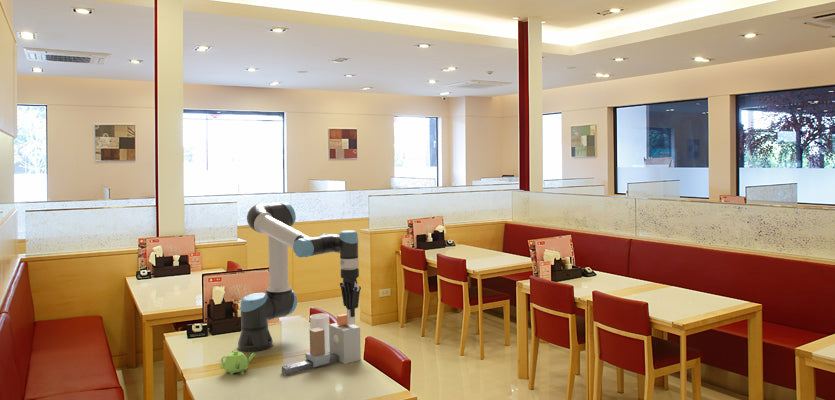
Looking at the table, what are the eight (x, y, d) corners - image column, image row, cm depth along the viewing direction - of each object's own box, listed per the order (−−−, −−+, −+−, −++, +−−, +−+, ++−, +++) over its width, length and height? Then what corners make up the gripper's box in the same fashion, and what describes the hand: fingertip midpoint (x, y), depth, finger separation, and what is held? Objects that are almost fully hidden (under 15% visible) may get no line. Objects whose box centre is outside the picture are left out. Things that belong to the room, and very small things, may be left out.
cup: (326, 355, 250) (325, 319, 248) (308, 354, 251) (307, 318, 250) (332, 349, 258) (331, 313, 256) (315, 348, 259) (314, 313, 258)
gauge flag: (337, 324, 245) (337, 315, 245) (346, 322, 248) (345, 313, 247) (340, 325, 243) (339, 316, 243) (349, 323, 246) (348, 314, 246)
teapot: (215, 374, 229) (214, 353, 228) (234, 364, 240) (234, 345, 239) (238, 378, 225) (237, 357, 224) (257, 368, 235) (256, 348, 235)
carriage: (305, 361, 239) (304, 329, 238) (320, 358, 243) (319, 325, 242) (314, 367, 232) (313, 333, 231) (330, 363, 237) (329, 330, 236)
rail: (282, 372, 230) (281, 366, 230) (334, 358, 245) (334, 353, 245) (286, 375, 227) (286, 369, 227) (339, 361, 242) (339, 355, 242)
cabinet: (328, 356, 248) (328, 324, 247) (345, 352, 253) (345, 320, 252) (343, 364, 238) (342, 330, 237) (360, 359, 244) (360, 326, 243)
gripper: (333, 267, 241) (335, 322, 243) (350, 271, 231) (352, 329, 233) (348, 264, 246) (350, 319, 248) (365, 268, 236) (367, 325, 238)
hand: (351, 324), depth 240 cm, fingers closed
